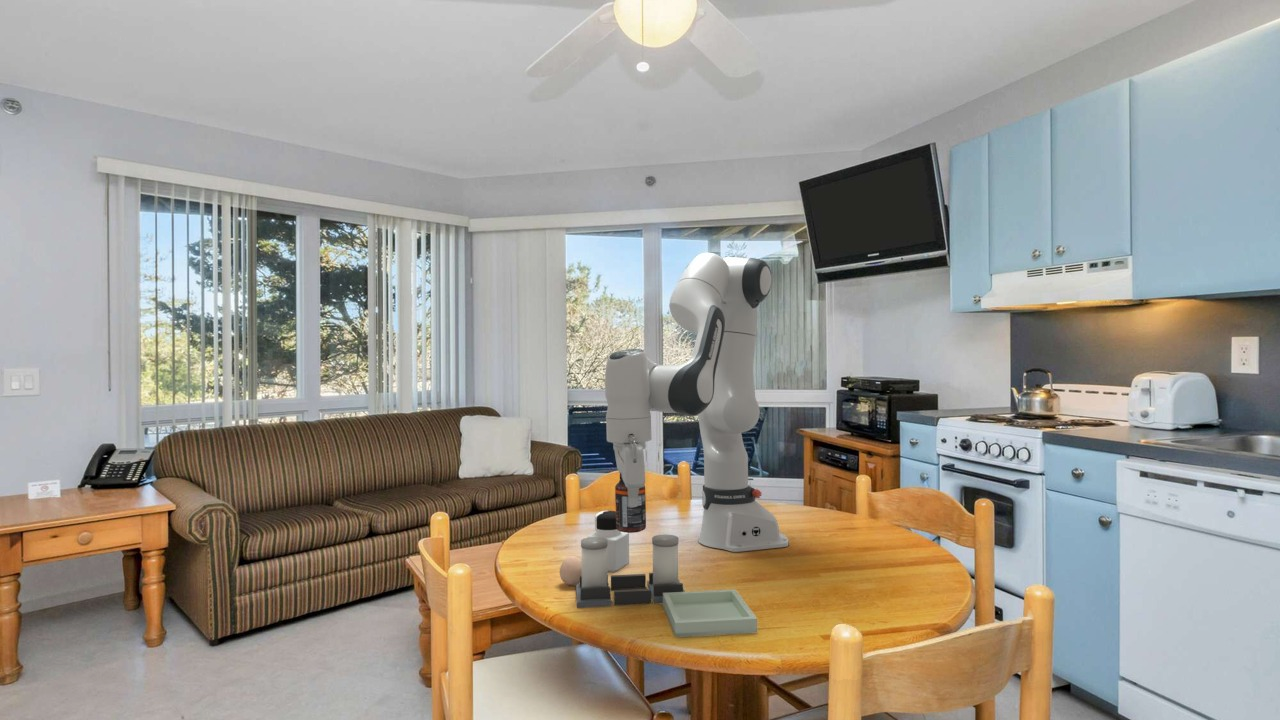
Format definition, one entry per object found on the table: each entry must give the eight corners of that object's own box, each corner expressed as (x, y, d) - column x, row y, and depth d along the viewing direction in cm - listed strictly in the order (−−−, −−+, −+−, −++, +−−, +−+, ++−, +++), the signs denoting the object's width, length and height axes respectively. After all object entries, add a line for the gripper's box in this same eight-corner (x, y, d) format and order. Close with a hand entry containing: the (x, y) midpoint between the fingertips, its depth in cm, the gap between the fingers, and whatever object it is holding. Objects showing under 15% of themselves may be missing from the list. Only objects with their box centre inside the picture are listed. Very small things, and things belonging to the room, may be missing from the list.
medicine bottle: (629, 563, 146) (629, 510, 146) (615, 572, 139) (615, 517, 140) (602, 559, 149) (601, 507, 149) (586, 568, 142) (586, 514, 143)
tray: (735, 601, 122) (735, 589, 122) (757, 632, 108) (757, 618, 108) (662, 605, 120) (662, 592, 120) (675, 637, 106) (675, 622, 106)
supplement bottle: (615, 526, 129) (614, 470, 129) (644, 525, 129) (643, 469, 129) (616, 534, 123) (615, 475, 123) (647, 533, 123) (646, 474, 123)
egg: (556, 582, 133) (556, 554, 133) (580, 579, 135) (580, 551, 135) (563, 590, 129) (563, 561, 129) (587, 587, 131) (587, 558, 131)
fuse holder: (678, 584, 132) (678, 530, 132) (687, 602, 122) (687, 544, 122) (576, 588, 129) (575, 534, 129) (577, 607, 120) (576, 548, 120)
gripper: (651, 437, 116) (654, 513, 116) (638, 425, 136) (640, 490, 136) (617, 439, 115) (619, 515, 115) (609, 427, 136) (611, 492, 136)
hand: (631, 502), depth 126 cm, fingers closed on supplement bottle, 6 cm apart
